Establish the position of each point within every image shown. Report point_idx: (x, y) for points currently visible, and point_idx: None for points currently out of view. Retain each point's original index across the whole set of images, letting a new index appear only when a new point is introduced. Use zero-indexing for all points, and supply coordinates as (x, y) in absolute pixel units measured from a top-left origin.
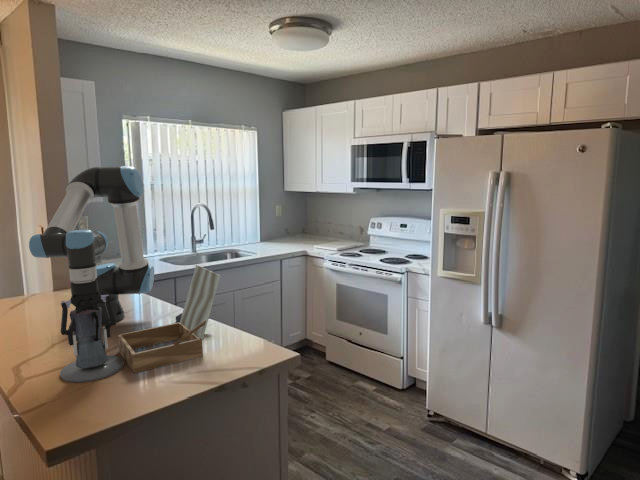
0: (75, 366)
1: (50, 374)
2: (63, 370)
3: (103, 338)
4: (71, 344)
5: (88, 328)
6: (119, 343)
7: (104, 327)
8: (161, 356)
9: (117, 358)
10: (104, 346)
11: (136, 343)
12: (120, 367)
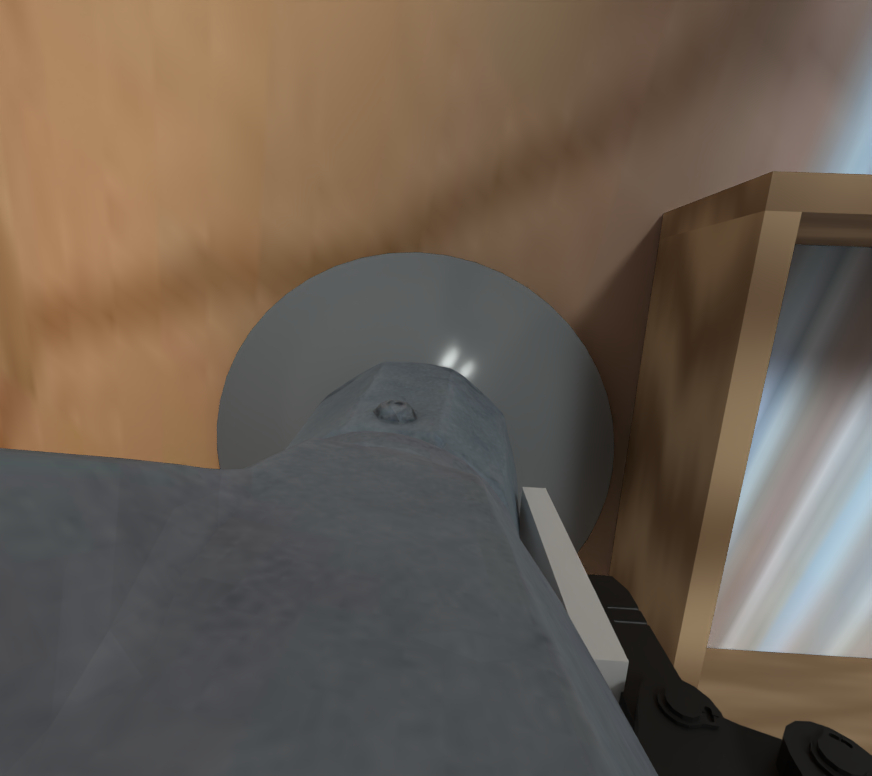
0: (314, 382)
1: (172, 352)
2: (237, 401)
3: (539, 559)
4: None
5: None
6: (704, 255)
7: (615, 687)
8: None
9: (590, 425)
10: (521, 523)
11: (838, 239)
12: None
